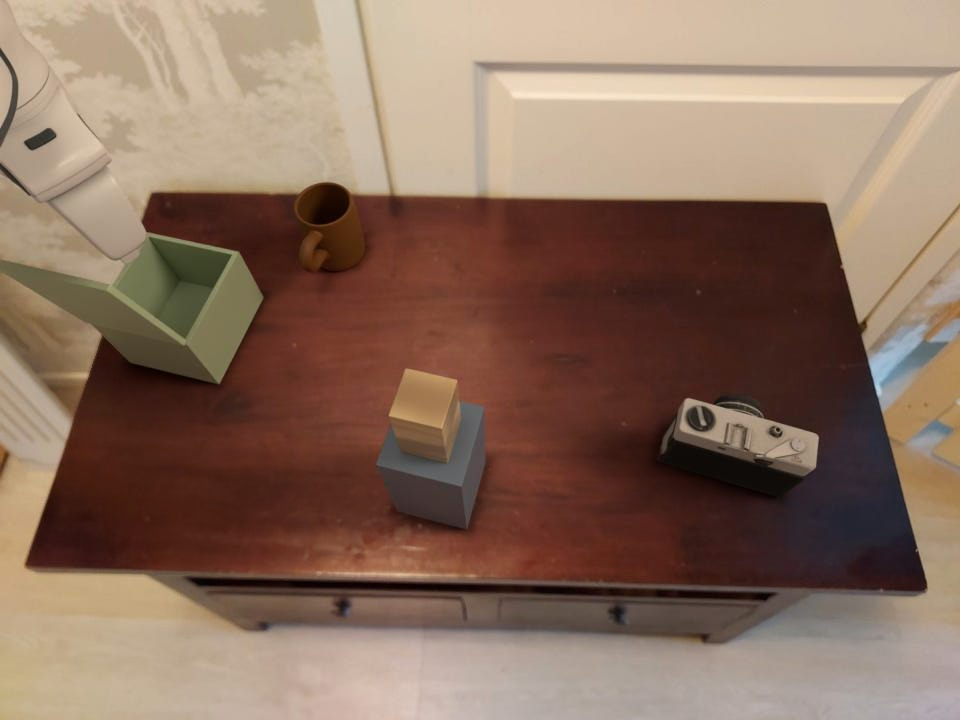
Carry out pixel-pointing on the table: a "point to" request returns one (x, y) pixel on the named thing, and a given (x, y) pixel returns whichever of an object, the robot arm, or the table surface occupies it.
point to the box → (187, 306)
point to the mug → (328, 228)
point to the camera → (738, 445)
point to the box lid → (91, 301)
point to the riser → (438, 474)
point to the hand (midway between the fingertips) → (103, 229)
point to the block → (426, 415)
